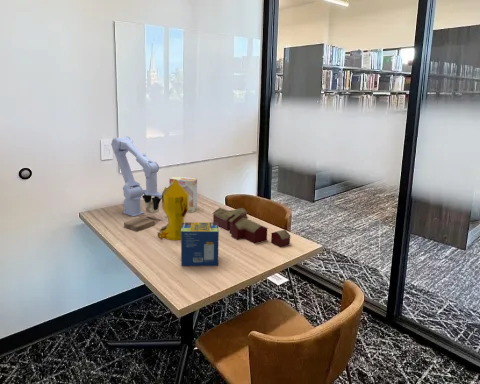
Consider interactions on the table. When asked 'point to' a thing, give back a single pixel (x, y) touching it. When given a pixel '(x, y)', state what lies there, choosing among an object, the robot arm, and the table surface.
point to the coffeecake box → (188, 190)
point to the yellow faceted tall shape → (174, 210)
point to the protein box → (199, 244)
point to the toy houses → (247, 227)
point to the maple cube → (151, 208)
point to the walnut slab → (139, 224)
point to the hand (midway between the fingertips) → (152, 208)
